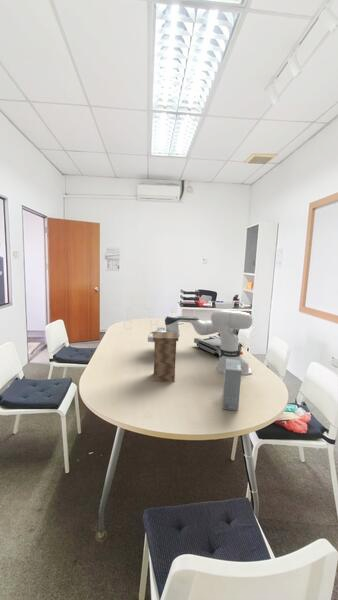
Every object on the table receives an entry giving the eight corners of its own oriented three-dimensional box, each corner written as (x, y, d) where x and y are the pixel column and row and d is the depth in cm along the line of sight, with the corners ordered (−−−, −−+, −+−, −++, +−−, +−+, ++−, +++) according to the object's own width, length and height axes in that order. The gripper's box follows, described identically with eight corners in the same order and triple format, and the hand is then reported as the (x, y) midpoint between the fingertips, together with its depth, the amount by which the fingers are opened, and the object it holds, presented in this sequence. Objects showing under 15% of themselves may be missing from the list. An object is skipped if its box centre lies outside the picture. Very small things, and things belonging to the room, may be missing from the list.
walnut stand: (174, 373, 173) (176, 332, 169) (176, 382, 160) (178, 338, 156) (151, 373, 172) (153, 331, 168) (151, 382, 159) (153, 337, 156)
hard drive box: (238, 411, 132) (241, 371, 129) (221, 409, 133) (224, 369, 130) (237, 396, 147) (240, 359, 144) (222, 394, 148) (225, 358, 145)
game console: (213, 343, 239) (214, 334, 238) (240, 355, 212) (241, 344, 211) (193, 346, 229) (194, 337, 228) (219, 359, 202) (220, 348, 200)
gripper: (175, 341, 206) (177, 346, 193) (147, 340, 205) (147, 345, 191) (176, 332, 205) (177, 337, 192) (148, 331, 204) (147, 336, 191)
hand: (162, 341), depth 192 cm, fingers closed on link bar, 4 cm apart
